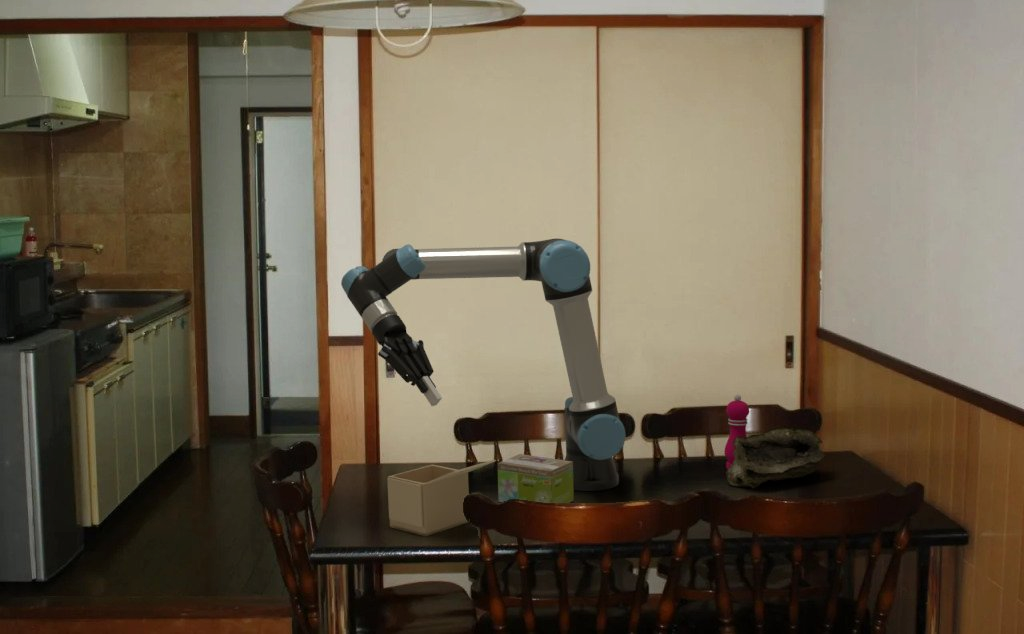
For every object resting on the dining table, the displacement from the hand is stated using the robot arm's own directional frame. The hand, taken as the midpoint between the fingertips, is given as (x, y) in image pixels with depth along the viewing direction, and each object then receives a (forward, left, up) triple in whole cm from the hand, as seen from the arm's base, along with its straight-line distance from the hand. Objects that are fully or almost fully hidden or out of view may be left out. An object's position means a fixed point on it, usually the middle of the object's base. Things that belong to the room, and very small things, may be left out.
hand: (436, 402), depth 274 cm
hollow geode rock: (-81, +40, -30) cm, 95 cm away
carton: (-1, -5, -29) cm, 30 cm away
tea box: (-17, +14, -30) cm, 37 cm away
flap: (-1, +1, -17) cm, 18 cm away
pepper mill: (-87, +24, -30) cm, 95 cm away
